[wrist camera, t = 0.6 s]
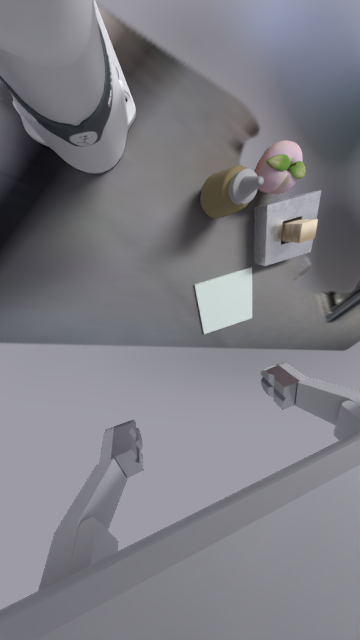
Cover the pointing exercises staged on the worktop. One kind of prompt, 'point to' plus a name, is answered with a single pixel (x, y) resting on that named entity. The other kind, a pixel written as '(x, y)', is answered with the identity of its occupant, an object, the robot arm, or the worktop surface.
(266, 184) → the decorative fruit
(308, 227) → the birch peg
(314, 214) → the aluminium socket block
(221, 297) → the sage pad
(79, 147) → the robot arm
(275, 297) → the worktop surface
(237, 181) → the squeeze bottle
